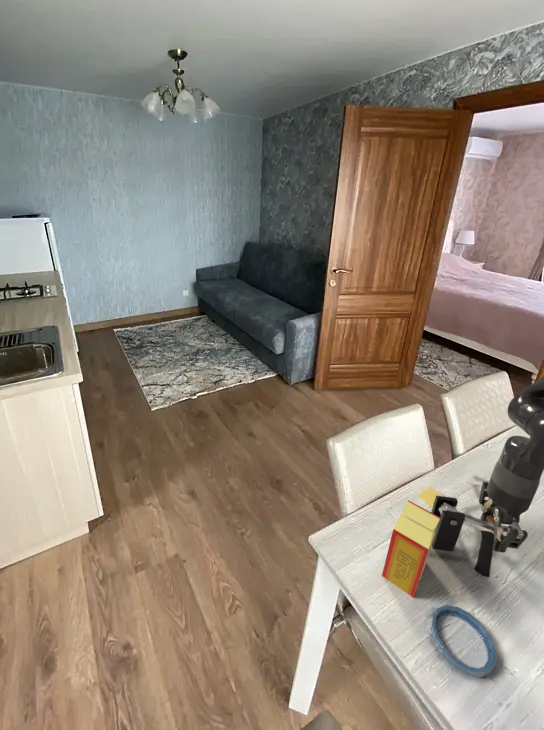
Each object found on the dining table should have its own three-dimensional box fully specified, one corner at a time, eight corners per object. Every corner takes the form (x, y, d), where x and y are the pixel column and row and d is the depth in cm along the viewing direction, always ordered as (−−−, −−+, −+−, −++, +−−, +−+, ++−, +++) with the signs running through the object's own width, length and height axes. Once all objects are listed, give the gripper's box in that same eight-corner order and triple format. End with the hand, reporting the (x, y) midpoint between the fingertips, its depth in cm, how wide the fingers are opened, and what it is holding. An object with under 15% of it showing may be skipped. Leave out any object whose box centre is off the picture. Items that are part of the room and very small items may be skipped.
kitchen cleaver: (469, 475, 102) (511, 490, 95) (468, 480, 102) (510, 495, 96) (443, 554, 80) (496, 581, 73) (443, 559, 80) (495, 586, 74)
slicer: (453, 532, 86) (466, 494, 81) (467, 564, 79) (482, 525, 74) (411, 525, 88) (421, 488, 83) (420, 556, 80) (432, 517, 75)
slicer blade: (489, 522, 81) (495, 515, 80) (501, 544, 76) (508, 537, 75) (435, 502, 82) (440, 496, 81) (444, 523, 77) (450, 516, 76)
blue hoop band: (476, 619, 69) (480, 610, 68) (503, 687, 59) (508, 678, 58) (422, 609, 70) (425, 600, 69) (440, 674, 61) (443, 665, 60)
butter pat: (427, 494, 96) (430, 486, 95) (441, 505, 93) (444, 497, 92) (418, 500, 95) (420, 491, 94) (431, 511, 91) (434, 502, 90)
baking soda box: (412, 601, 72) (428, 549, 65) (380, 579, 76) (393, 528, 69) (425, 566, 78) (441, 516, 72) (395, 548, 82) (408, 498, 76)
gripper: (555, 514, 66) (527, 572, 73) (513, 460, 79) (493, 513, 86) (512, 508, 67) (488, 566, 74) (478, 456, 80) (460, 508, 87)
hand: (490, 537), depth 80 cm, fingers closed on slicer blade, 5 cm apart
